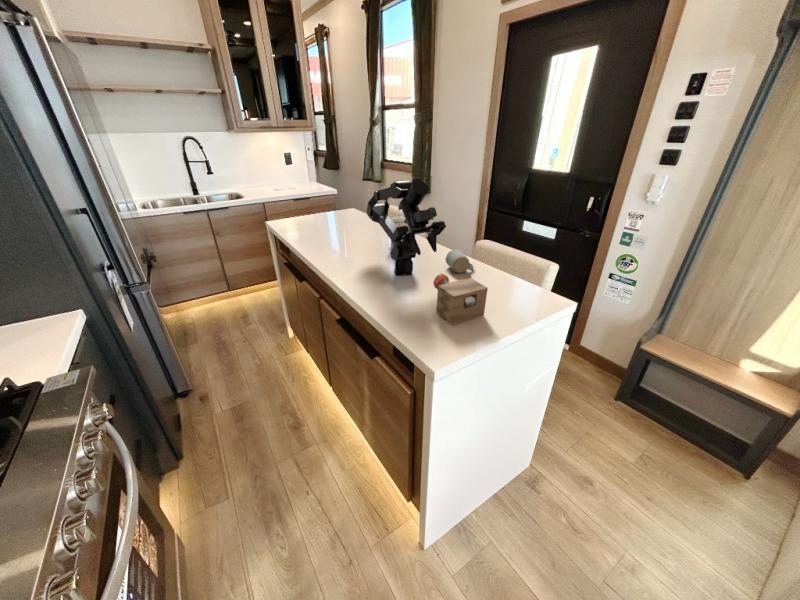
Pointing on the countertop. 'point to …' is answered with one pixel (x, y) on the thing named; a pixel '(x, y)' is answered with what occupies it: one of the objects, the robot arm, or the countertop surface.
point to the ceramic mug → (458, 261)
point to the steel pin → (444, 280)
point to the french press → (397, 220)
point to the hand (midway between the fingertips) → (427, 253)
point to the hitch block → (460, 301)
